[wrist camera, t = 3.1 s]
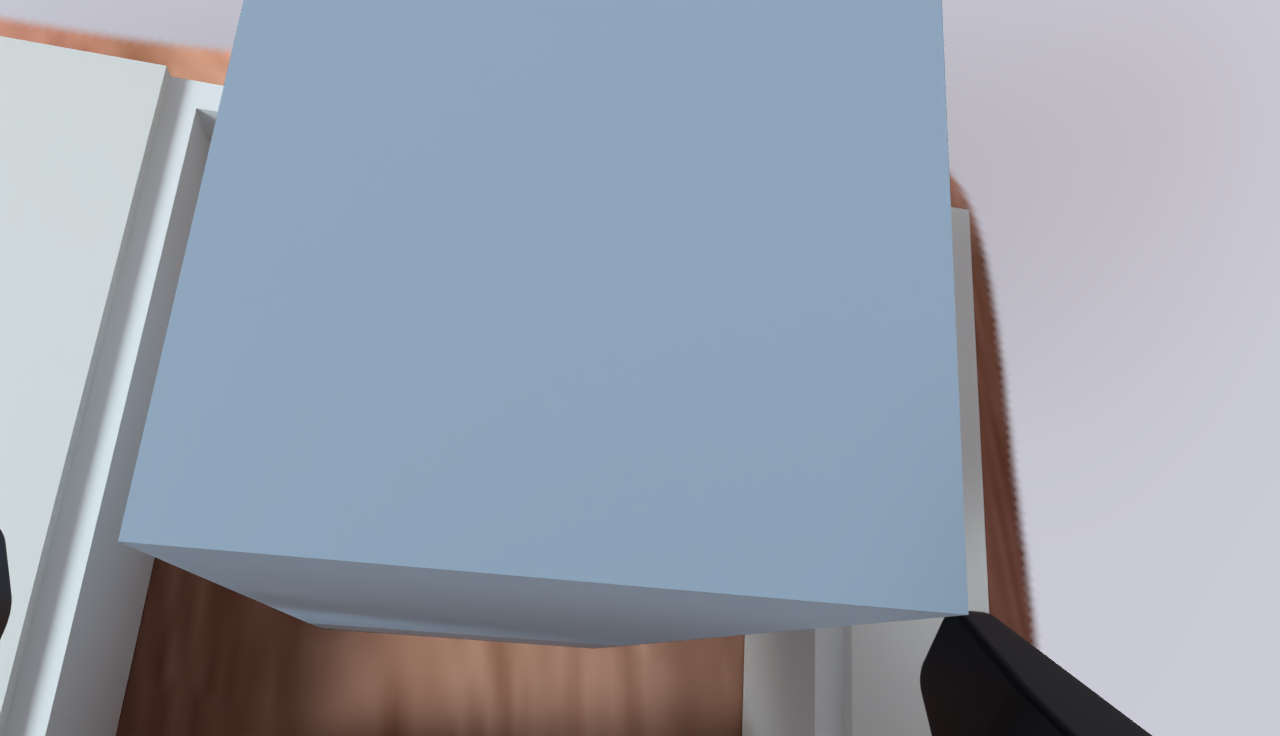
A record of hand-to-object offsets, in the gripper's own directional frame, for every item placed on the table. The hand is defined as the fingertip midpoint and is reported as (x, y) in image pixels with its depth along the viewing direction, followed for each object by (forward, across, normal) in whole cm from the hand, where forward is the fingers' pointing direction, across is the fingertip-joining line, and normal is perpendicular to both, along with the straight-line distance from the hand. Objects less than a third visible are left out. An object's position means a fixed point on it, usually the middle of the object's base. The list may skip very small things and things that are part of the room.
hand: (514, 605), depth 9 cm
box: (+8, 0, +5) cm, 9 cm away
